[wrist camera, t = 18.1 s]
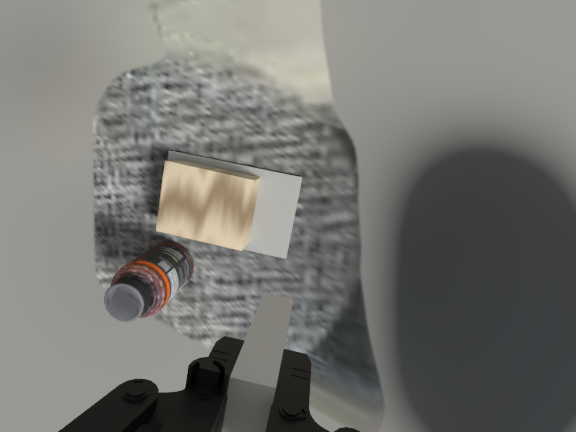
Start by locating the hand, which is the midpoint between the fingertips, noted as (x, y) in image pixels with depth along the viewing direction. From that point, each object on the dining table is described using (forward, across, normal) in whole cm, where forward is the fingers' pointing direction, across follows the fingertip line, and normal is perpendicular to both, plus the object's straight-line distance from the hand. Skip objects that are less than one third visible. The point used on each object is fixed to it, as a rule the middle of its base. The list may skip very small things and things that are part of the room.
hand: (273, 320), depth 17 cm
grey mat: (+24, -9, 0) cm, 26 cm away
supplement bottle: (+25, -15, -9) cm, 30 cm away
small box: (+22, -6, 0) cm, 23 cm away
